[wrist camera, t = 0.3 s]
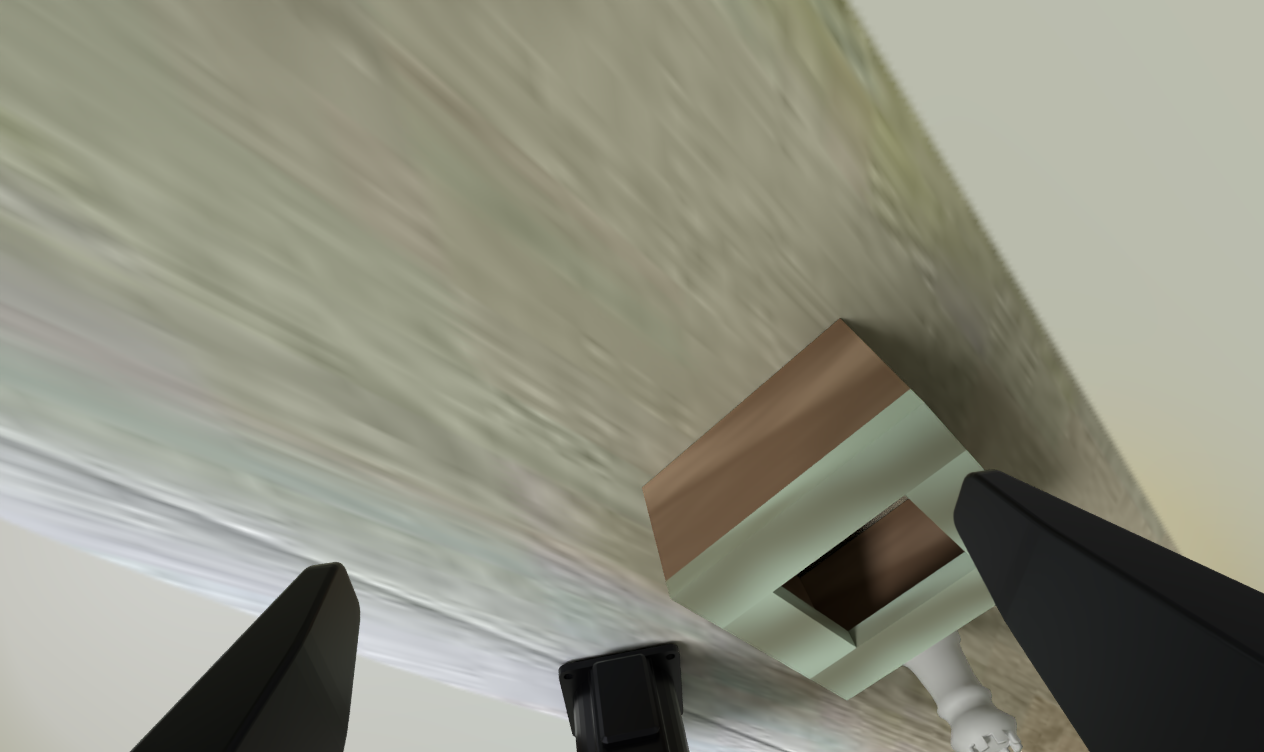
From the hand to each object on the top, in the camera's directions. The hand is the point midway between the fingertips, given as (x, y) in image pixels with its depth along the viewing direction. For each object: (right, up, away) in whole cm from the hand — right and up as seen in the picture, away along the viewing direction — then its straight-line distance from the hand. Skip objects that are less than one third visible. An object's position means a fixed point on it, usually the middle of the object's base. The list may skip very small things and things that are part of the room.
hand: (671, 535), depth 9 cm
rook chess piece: (+15, -11, +27) cm, 33 cm away
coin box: (+8, -2, +20) cm, 21 cm away
